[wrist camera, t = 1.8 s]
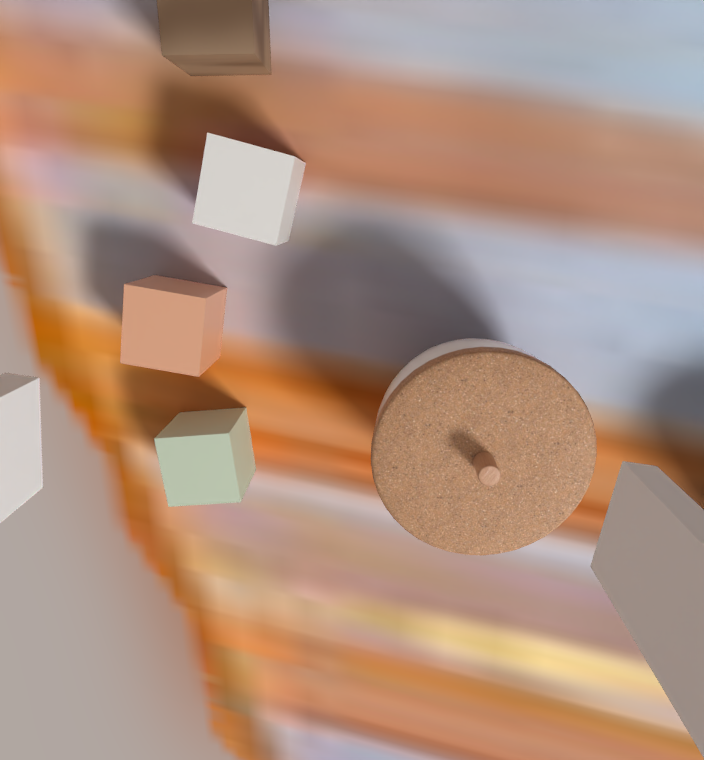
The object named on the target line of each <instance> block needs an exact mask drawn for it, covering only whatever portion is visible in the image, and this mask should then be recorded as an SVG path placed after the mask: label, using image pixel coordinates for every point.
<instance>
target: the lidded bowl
mask: <svg viewBox="0 0 704 760" xmlns="http://www.w3.org/2000/svg"><path fill="white" fill-rule="evenodd" d="M595 461H596V435H595V429H594V424H593V421H592V418H591V416H590V413H589V411H588V408H587V406H586V405H585V403H584V401H583V400H582V398H581V396H580V395H579V393H578V392H577V391H576V390H575V389H574V387H573V386H572V385H571V384H570V383H569V382H568V381H567V380H566V379H565V378H564V377H563V376H562V375H561V374H559V373H558V372H557V371H556V370H554V369H553V368H552V367H551V366H549V365H547V364H546V363H544V362H542V361H540V360H539V359H538V358H536V357H535V356H533V355H531V354H529V353H528V352H526V351H524V350H522V349H520V348H518V347H515V346H512V345H509V344H507V343H504V342H501V341H495V340H490V339H477V338H467V339H459V340H453V341H449V342H445V343H442V344H439V345H437V346H434V347H432V348H430V349H428V350H426V351H424V352H423V353H421V354H420V355H418V356H416V357H415V358H414V359H413V360H411V361H410V362H409V363H408V364H407V365H406V366H405V367H404V368H403V369H402V370H401V371H400V372H399V373H398V374H397V376H396V377H395V378H394V379H393V381H392V382H391V384H390V386H389V387H388V389H387V391H386V392H385V395H384V397H383V400H382V403H381V405H380V408H379V410H378V414H377V419H376V424H375V428H374V433H373V438H372V446H371V466H372V473H373V479H374V482H375V485H376V488H377V491H378V494H379V496H380V498H381V500H382V502H383V504H384V505H385V507H386V508H387V510H388V511H389V512H390V514H391V515H392V516H393V518H394V519H395V520H396V521H397V522H398V523H399V524H400V525H401V526H402V527H403V528H404V529H405V530H407V531H408V532H409V533H411V534H412V535H414V536H415V537H416V538H418V539H420V540H422V541H424V542H426V543H428V544H430V545H432V546H434V547H437V548H440V549H443V550H446V551H449V552H455V553H460V554H467V555H489V554H499V553H503V552H508V551H513V550H516V549H519V548H521V547H524V546H526V545H529V544H531V543H533V542H535V541H537V540H539V539H541V538H543V537H545V536H546V535H547V534H549V533H550V532H551V531H553V530H554V529H556V528H557V527H558V526H559V525H560V524H561V523H562V522H564V521H565V520H566V519H567V518H568V517H569V516H570V515H571V513H572V512H573V511H574V509H575V508H576V507H577V505H578V504H579V503H580V501H581V500H582V498H583V496H584V494H585V492H586V490H587V489H588V487H589V484H590V481H591V478H592V475H593V472H594V467H595Z"/></svg>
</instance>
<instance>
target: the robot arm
mask: <svg viewBox="0 0 704 760" xmlns="http://www.w3.org/2000/svg"><path fill="white" fill-rule="evenodd" d="M40 411H41V410H40V378H38V377H31V376H24V375H18V374H10V373H4V374H2V375H0V523H1V522H2V521H3V520H5V519H6V518H7V517H8V516H9V515H11V514H12V513H13V512H14V511H15V510H17V508H19V507H20V506H21V505H23V504H24V503H25V502H26V501H27V500H29V499H30V498H31V497H32V496H33V495H35V494H36V493H37V492H38V491H39V490H41V489H42V488H43V476H42V444H41V412H40ZM591 568H592V570H593V571H594V573H595V575H596V577H597V578H598V580H599V582H600V583H601V585H602V587H603V588H604V590H605V592H606V593H607V595H608V597H609V599H610V600H611V602H612V604H613V605H614V607H615V609H616V610H617V612H618V614H619V615H620V617H621V619H622V620H623V622H624V624H625V626H626V627H627V629H628V631H629V632H630V634H631V636H632V637H633V639H634V641H635V642H636V644H637V646H638V648H639V649H640V651H641V653H642V654H643V656H644V658H645V659H646V661H647V663H648V664H649V666H650V668H651V669H652V671H653V673H654V675H655V676H656V678H657V680H658V681H659V683H660V685H661V686H662V688H663V690H664V691H665V693H666V695H667V697H668V698H669V700H670V702H671V703H672V705H673V707H674V708H675V710H676V712H677V713H678V715H679V717H680V718H681V720H682V722H683V724H684V725H685V727H686V729H687V730H688V732H689V734H690V735H691V737H692V739H693V740H694V742H695V744H696V745H697V747H698V749H699V751H700V752H701V754H702V756H703V757H704V509H702V508H701V507H700V506H699V505H698V504H697V503H696V502H695V501H694V500H693V499H692V498H691V497H689V496H688V495H687V494H686V493H685V492H684V491H683V490H682V489H681V488H680V487H679V486H678V485H677V484H675V483H674V482H673V481H672V480H671V479H670V478H669V477H668V476H667V475H666V474H665V473H664V472H663V471H661V470H660V469H659V468H658V467H657V466H653V465H646V464H639V463H632V462H625V461H623V462H622V465H621V468H620V471H619V475H618V478H617V481H616V484H615V488H614V491H613V494H612V498H611V501H610V504H609V507H608V511H607V514H606V517H605V520H604V524H603V527H602V530H601V533H600V537H599V540H598V543H597V547H596V550H595V553H594V556H593V560H592V563H591Z"/></svg>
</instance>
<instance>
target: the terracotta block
mask: <svg viewBox="0 0 704 760" xmlns="http://www.w3.org/2000/svg"><path fill="white" fill-rule="evenodd" d="M226 294H227V287H221V286H216V285H210V284H204V283H198V282H193V281H187V280H181V279H176V278H170V277H164V276H158V275H153V276H150V277H146V278H143V279H140V280H136V281H133V282H130V283H126V284H124V295H123V316H122V337H121V359H120V363H122V364H128V365H134V366H140V367H145V368H151V369H157V370H163V371H168V372H174V373H180V374H185V375H191V376H197V377H199V376H200V375H201V374H202V373H204V372H205V371H206V370H207V369H208V368H209V367H210V366H211V365H212V364H213V363H214V362H215V361H216V360H217V359H219V358H220V353H221V343H222V333H223V324H224V314H225V304H226Z"/></svg>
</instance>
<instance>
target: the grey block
mask: <svg viewBox="0 0 704 760" xmlns="http://www.w3.org/2000/svg"><path fill="white" fill-rule="evenodd" d="M305 165H306V163H305V162H303V161H301V160H300V159H298V158H297V157H295V156H291V155H288V154H284V153H280V152H277V151H273V150H270V149H266V148H262V147H259V146H255V145H251V144H248V143H244V142H240V141H237V140H233V139H229V138H226V137H222V136H218V135H215V134H211V133H208V132H207V138H206V144H205V150H204V156H203V162H202V168H201V174H200V180H199V186H198V192H197V198H196V204H195V210H194V216H193V222H192V223H193V224H197V225H201V226H204V227H208V228H212V229H216V230H219V231H223V232H227V233H231V234H234V235H238V236H242V237H245V238H249V239H253V240H257V241H260V242H264V243H268V244H272V245H275V246H277V245H279V244H282V243H285V242H287V241H289V238H290V233H291V228H292V224H293V219H294V215H295V210H296V206H297V201H298V197H299V192H300V187H301V183H302V178H303V174H304V169H305Z"/></svg>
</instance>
